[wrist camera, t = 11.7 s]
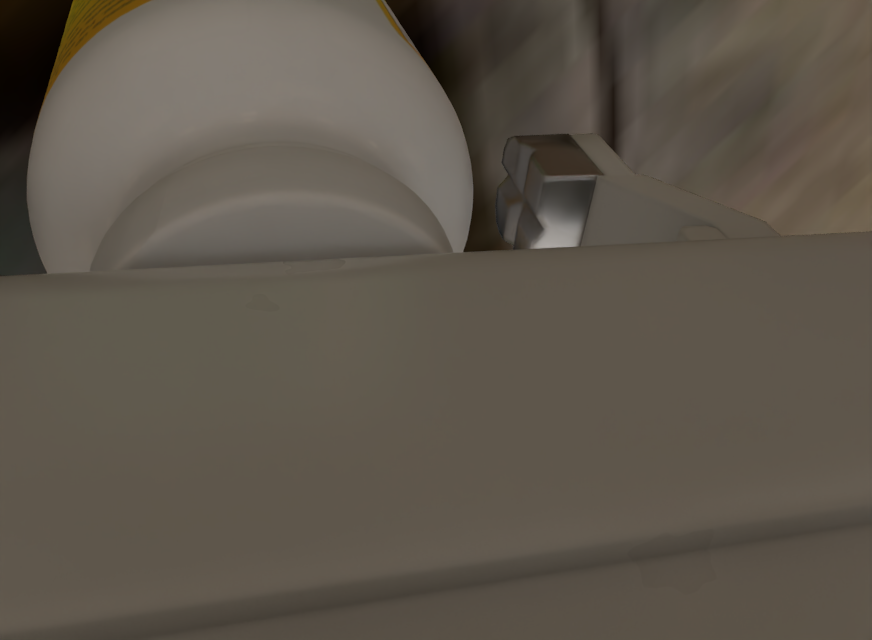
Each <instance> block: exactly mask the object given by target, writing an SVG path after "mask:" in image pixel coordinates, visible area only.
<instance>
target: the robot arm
mask: <svg viewBox="0 0 872 640" xmlns="http://www.w3.org/2000/svg"><path fill="white" fill-rule="evenodd" d="M502 164H503V166H504V168H505V170H506V171H507V173H508V176H507V177H506V179H505V180H504V181H503V182H502V183H501V184H500V185H499V187H498V190H497V198H496V205H495V206H496V222H497V226H498V229H499V233H500V234H501V236H502V238H503V240H504V241H506V242H508V243H509V244H511V245H513V246H514V247H513V250H498V251H479V252H459V253H440V254H420V255H401V256H381V257H362V258H343V259H323V260H304V261H284V262H265V263H245V264H226V265H206V266H187V267H167V268H148V269H128V270H109V271H90V272H70V273H51V274H31V275H12V276H0V640H872V231H870V232H851V233H831V234H811V235H792V236H780V235H779V234H778V233H777V232H776V231H775V230H774V229H773V228H772V227H771V226H770V225H768V224H767V223H766V222H765V221H763V220H760V219H758V218H755V217H752V216H750V215H747V214H745V213H742V212H739V211H737V210H734V209H732V208H729V207H726V206H724V205H721V204H719V203H716V202H714V201H711V200H708V199H706V198H703V197H701V196H698V195H695V194H693V193H690V192H688V191H685V190H682V189H680V188H677V187H675V186H672V185H669V184H667V183H664V182H662V181H659V180H657V179H654V178H651V177H649V176H646V175H644V174H643V175H635V174H634V173H633V172H632V171H631V170H630V168H629V167H628V166H627V165H626V164H625V163H624V162H623V161H622V160H621V159H620V158H619V157H618V155H617V154H616V153H615V152H614V151H613V150H612V149H611V148H610V147H609V146H608V145H607V143H606V142H605V141H604V140H603V139H602V138H601V137H600V136H599V135H598V134H593V133H590V134H573V135H569V134H550V135H524V136H513V137H510V138H508V140H507V142H506V145H505V148H504V152H503V158H502Z"/></svg>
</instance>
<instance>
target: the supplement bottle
mask: <svg viewBox="0 0 872 640" xmlns="http://www.w3.org/2000/svg"><path fill="white" fill-rule="evenodd" d="M27 206H28V212H29V219H30V225H31V229H32V233H33V237H34V241H35V244H36V247H37V250H38V253H39V256H40V258H41V261H42V263H43V265H44V267H45V269H46V271H47V273H48V274H51V273H70V272H90V271H109V270H128V269H148V268H167V267H187V266H206V265H226V264H245V263H265V262H284V261H304V260H323V259H343V258H362V257H381V256H401V255H420V254H440V253H459V252H463V250H464V247H465V244H466V241H467V237H468V232H469V227H470V222H471V215H472V206H473V178H472V168H471V162H470V157H469V152H468V147H467V143H466V140H465V136H464V133H463V130H462V127H461V124H460V122H459V119H458V117H457V114H456V112H455V110H454V108H453V106H452V104H451V102H450V101H449V99H448V97H447V95H446V94H445V92H444V90H443V88H442V87H441V85H440V84H439V82H438V80H437V79H436V77H435V76H434V74H433V73H432V71H431V70H430V68H429V67H428V65H427V64H426V62H425V61H424V59H423V58H422V56H421V55H420V54H419V52H418V51H417V49H416V48H415V46H414V45H413V43H412V41H411V40H410V38H409V37H408V35H407V34H406V32H405V31H404V29H403V28H402V26H401V25H400V23H399V22H398V20H397V18H396V17H395V15H394V14H393V12H392V11H391V9H390V8H389V6H388V5H387V3H386V1H385V0H73V2H72V6H71V9H70V13H69V16H68V19H67V22H66V26H65V30H64V34H63V37H62V40H61V44H60V47H59V50H58V54H57V58H56V61H55V65H54V68H53V71H52V74H51V77H50V81H49V85H48V88H47V91H46V94H45V97H44V101H43V104H42V107H41V110H40V114H39V117H38V121H37V124H36V128H35V131H34V135H33V141H32V146H31V151H30V156H29V164H28V172H27Z"/></svg>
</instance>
